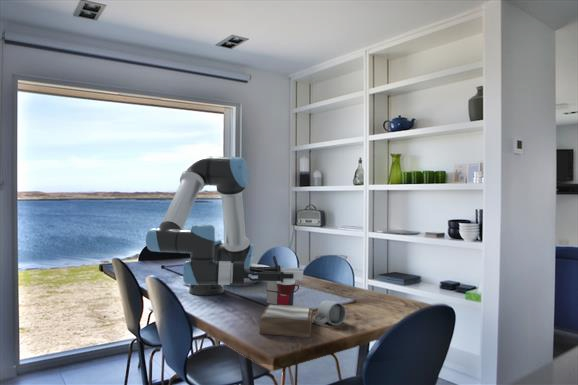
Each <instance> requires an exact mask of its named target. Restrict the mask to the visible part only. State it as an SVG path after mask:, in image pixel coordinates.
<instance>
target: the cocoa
mask: <svg viewBox="0 0 578 385" xmlns="http://www.w3.org/2000/svg"><path fill="white" fill-rule="evenodd" d="M272 260H273V264H274V266H275V267H276V270H277V272H280V270H279V267H278V265H279V263H278V260H277V258H276V255H273V256H272ZM296 287H297V289H296ZM277 289H278V292H279V293H280V294H282V295H290V294H292V293H297V291H298V290H299V289H300V285H299V284H296V280H283V282H281V281H277ZM295 289H296V290H295Z"/></svg>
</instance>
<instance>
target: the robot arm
mask: <svg viewBox="0 0 578 385" xmlns="http://www.w3.org/2000/svg"><path fill="white" fill-rule="evenodd" d="M248 166H249V165H248V163H247V161H246V159H244V158H243V157H238V156H209V155H208V156H202V157H200V158H197V159H196V160H194V161H193V162H191V163H190V164H189V165H187V167H186V168H185V169H184V170H183V172H182V174H181V175H180V178H179V186H178V188H177V190H176V192H175V194H174V195H173V199H172V200H171V202H170V204H169V206H168V208H167V210H166V212H165V214H164V216H163V219H162V221H161V222H160V225H159V226H158V228H157V227H154V228H150V229H149V230H148V231H147V232H146V236H145V246H146V247H147V250H149V251H150V252H158V253H179V254H189V256H190V260H186V261H185V262H184V263H183V269H182V271H183V272H182V279H183V283H184V284H185V285H189V291H188V292H189V294H192V295H196V296H214V295H215V296H216V295H220V294H222V293H224V288H225V287H224V286H227V285H228V286H229V285H231V284H232V285H233V286H243V285H244V282H245V279H247V280H248V279H249V280H250V281H251V282H259V281H260V282H267V281H281V282H283V280H295V281H303V280H304V271H300V268H299V267H284V268H281V269H280V267H281V265H279V264H278V267H279V270H280V272H277V270H276V267H271V266H252V265H253V259H254V252H255V245H254V244H252V243H250V238H248V237H246V236H247V234H246V225H245V211H244V200H243V198H244V197H243V192H244V191H246V187H247V186H249V183H250V182H249V180H250V177H249V176H250V172H249V167H248ZM205 186H215V187H216V191H217V193H218V194H220V197H221V204H222V206H221V207H222V215H223V223H224V231H225V232H224V233H225V239H224V241H223V242H222V239H216V238H215V237H216V234H215V233H216V232H215V226H214V225H212V224H196V223H195V224H192V225H191V228H190V229H184V227H185V225H186V223H187V221H188V218H189V215H190V213H191V210H192V209H193V207H194V204H195V202H196V199H197V197H198V194H199V193H200V192H201V191H203V189H204V188H205Z"/></svg>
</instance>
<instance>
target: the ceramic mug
mask: <svg viewBox="0 0 578 385" xmlns="http://www.w3.org/2000/svg"><path fill="white" fill-rule="evenodd" d="M317 307H318V308H317V314H315V315H314V316H312V322H313V323H314V325H316V326H320V325H323V324H325V323H328V324H330V325H332V326H340V325H342V323H343V322H344V321H345V319H346V313H347V312H346V307H345V306H344V305H343V304H342V303H341V302H337V301H333V300H322V301H321V302H320V303H319V304H318V306H317ZM319 318H320V320H318V319H319Z"/></svg>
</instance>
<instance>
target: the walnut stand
mask: <svg viewBox="0 0 578 385" xmlns="http://www.w3.org/2000/svg"><path fill="white" fill-rule="evenodd" d="M312 324H313V307H310V306H300V305H293V306H287V305H272V304H268V305H267V306H266V307H265V309H264V311H263V313H262V314H261V316H260V318H259V335H272V336H273V335H274V336H289V337H304V338H311V332H312Z"/></svg>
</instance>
